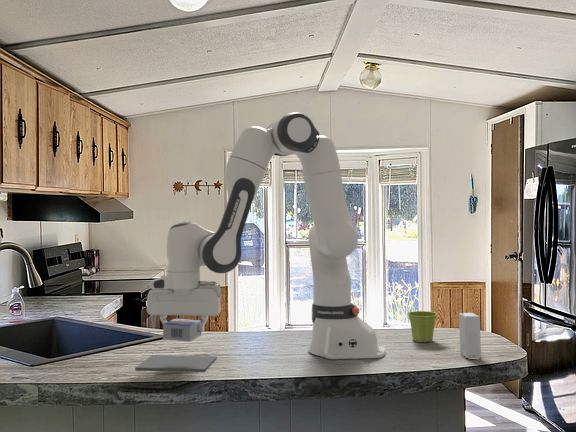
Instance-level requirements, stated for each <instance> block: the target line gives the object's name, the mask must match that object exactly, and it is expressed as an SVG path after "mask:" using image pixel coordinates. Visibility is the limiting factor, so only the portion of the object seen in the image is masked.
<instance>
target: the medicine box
mask: <svg viewBox="0 0 576 432" xmlns="http://www.w3.org/2000/svg"><path fill="white" fill-rule="evenodd" d="M199 324H202V319H201V320H200V319H188V318H187V319H185V318H173V319H171V320H169V321H167V323H164V324H163V323H162V325H163V326H162V327H163V328H162V340H163V341H164V340H165V341H176V342H177V341H179V342H189V343H190V342H192V341H194V340H196V339H197V338H199V337H201V336H202V332H198V325H199Z"/></svg>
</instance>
